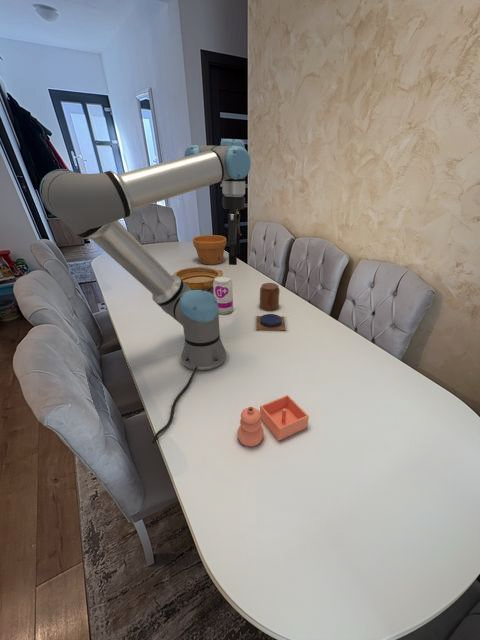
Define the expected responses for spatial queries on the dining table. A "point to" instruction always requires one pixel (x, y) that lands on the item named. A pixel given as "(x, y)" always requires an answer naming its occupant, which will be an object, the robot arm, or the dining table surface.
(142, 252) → the robot arm
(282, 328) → the coaster
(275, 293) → the jar
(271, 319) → the jar lid
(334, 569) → the dining table surface
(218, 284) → the supplement can
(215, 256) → the flower pot
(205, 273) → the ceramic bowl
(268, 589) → the dining table surface
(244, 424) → the pottery
